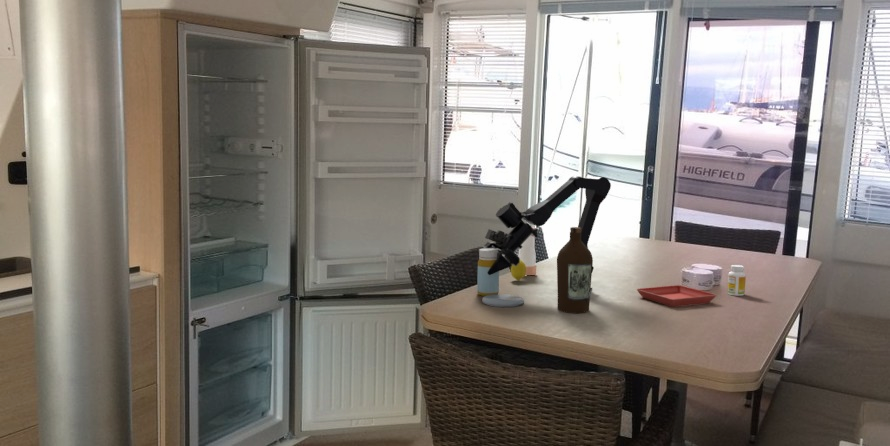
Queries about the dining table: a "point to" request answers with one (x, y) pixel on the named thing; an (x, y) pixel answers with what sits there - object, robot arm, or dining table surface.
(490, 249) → the bottle
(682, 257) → the dining table surface
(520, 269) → the lemon
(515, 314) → the dining table surface
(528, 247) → the pepper shaker
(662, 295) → the plant saucer
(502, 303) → the stand
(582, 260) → the olive oil
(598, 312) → the dining table surface
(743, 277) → the supplement bottle
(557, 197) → the robot arm
